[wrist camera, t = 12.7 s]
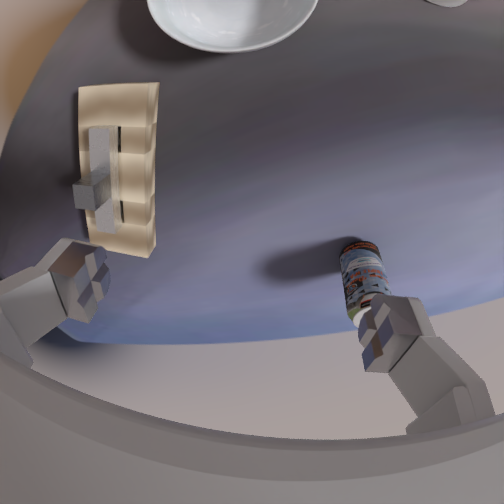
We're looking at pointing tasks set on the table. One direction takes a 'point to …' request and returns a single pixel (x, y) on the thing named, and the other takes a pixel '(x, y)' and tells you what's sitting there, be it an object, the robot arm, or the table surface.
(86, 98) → the beige flat rectangular block
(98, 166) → the gray u-shaped bracket
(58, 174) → the table surface
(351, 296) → the beverage can
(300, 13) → the cereal bowl
